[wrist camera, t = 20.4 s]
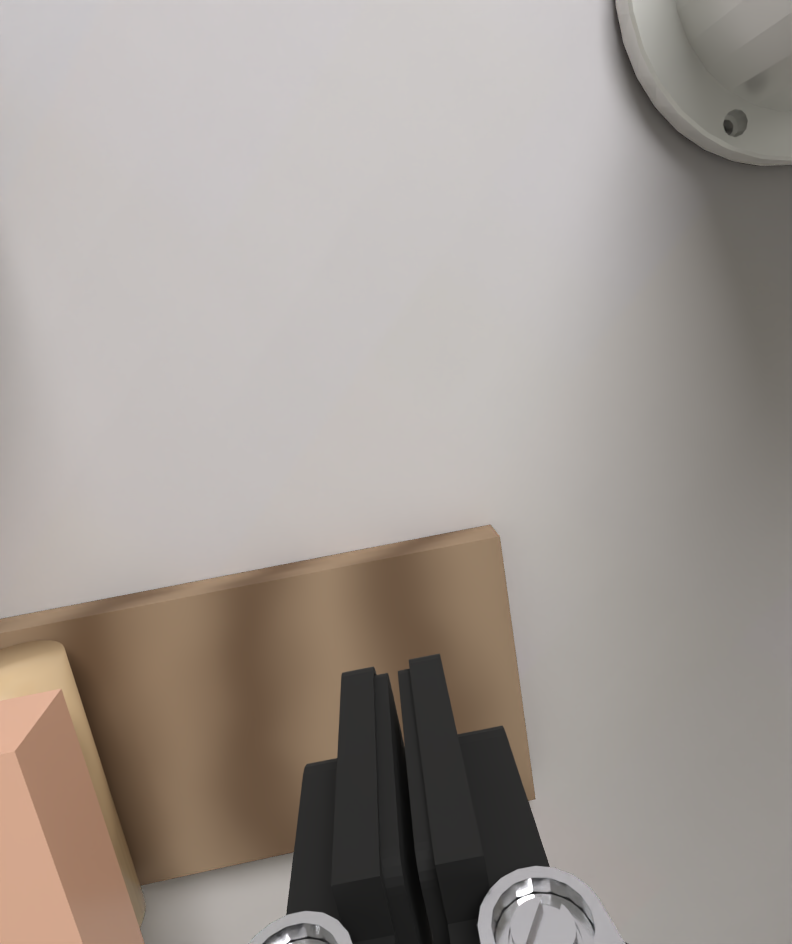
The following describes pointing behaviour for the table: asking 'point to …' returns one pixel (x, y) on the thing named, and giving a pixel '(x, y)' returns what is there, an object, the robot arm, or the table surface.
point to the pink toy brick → (57, 813)
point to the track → (272, 684)
